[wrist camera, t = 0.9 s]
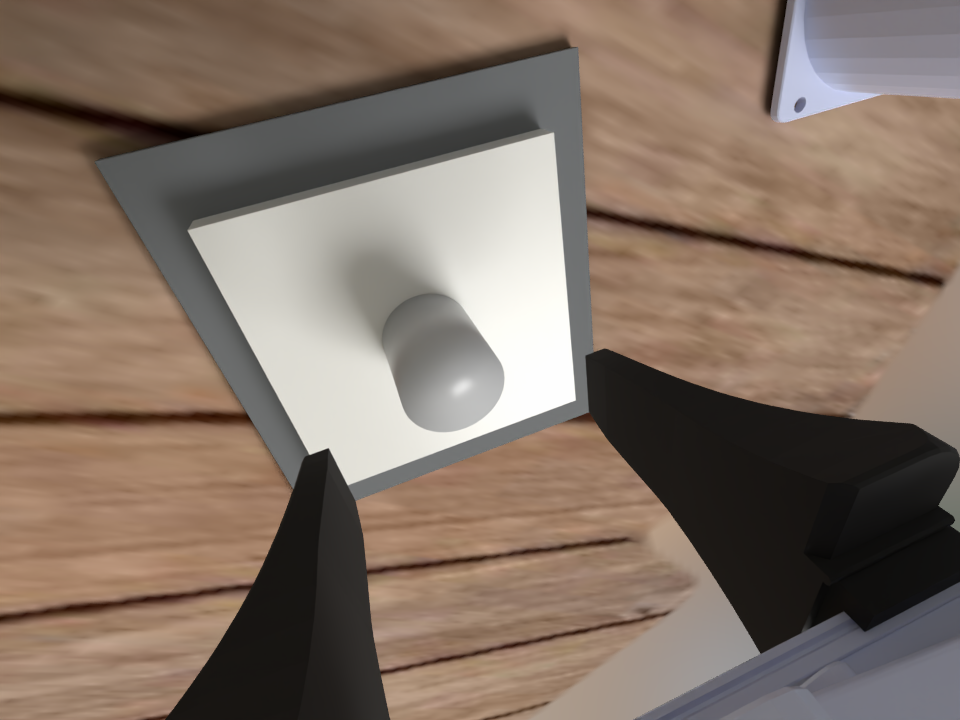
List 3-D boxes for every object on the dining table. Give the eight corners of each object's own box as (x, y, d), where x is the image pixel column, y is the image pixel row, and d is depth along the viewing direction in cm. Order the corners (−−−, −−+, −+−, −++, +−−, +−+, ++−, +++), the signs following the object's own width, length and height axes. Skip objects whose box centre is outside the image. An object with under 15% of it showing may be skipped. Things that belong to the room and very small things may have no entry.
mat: (571, 47, 15) (578, 47, 15) (592, 404, 24) (596, 409, 23) (99, 159, 13) (94, 161, 13) (310, 510, 21) (310, 517, 21)
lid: (540, 128, 16) (615, 149, 12) (565, 387, 22) (619, 452, 18) (193, 220, 14) (159, 277, 10) (328, 474, 20) (336, 565, 17)
